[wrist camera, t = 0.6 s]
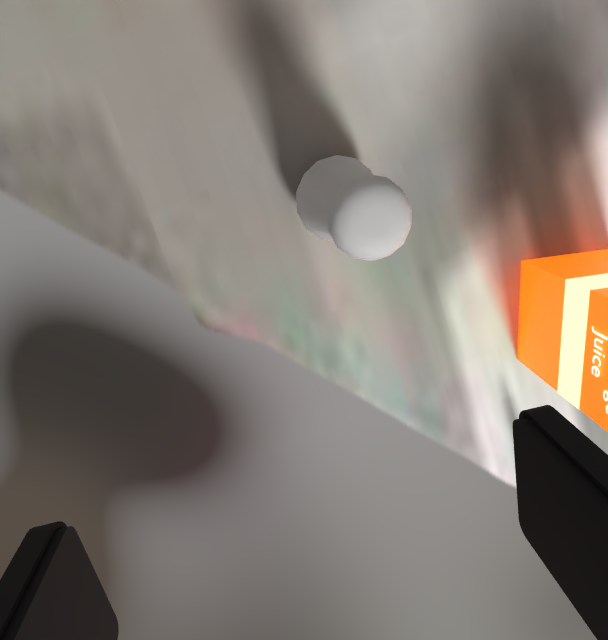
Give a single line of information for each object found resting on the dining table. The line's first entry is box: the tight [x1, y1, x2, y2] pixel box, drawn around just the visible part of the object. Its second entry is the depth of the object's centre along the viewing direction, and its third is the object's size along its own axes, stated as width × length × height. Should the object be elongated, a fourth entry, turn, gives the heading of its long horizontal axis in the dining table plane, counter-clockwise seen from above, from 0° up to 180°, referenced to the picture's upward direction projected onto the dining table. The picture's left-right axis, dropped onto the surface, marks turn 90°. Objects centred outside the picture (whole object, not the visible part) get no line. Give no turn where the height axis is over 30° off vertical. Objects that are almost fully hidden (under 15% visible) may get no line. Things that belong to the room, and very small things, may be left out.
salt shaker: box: [296, 155, 412, 261], centre depth 31 cm, size 6×6×13 cm
